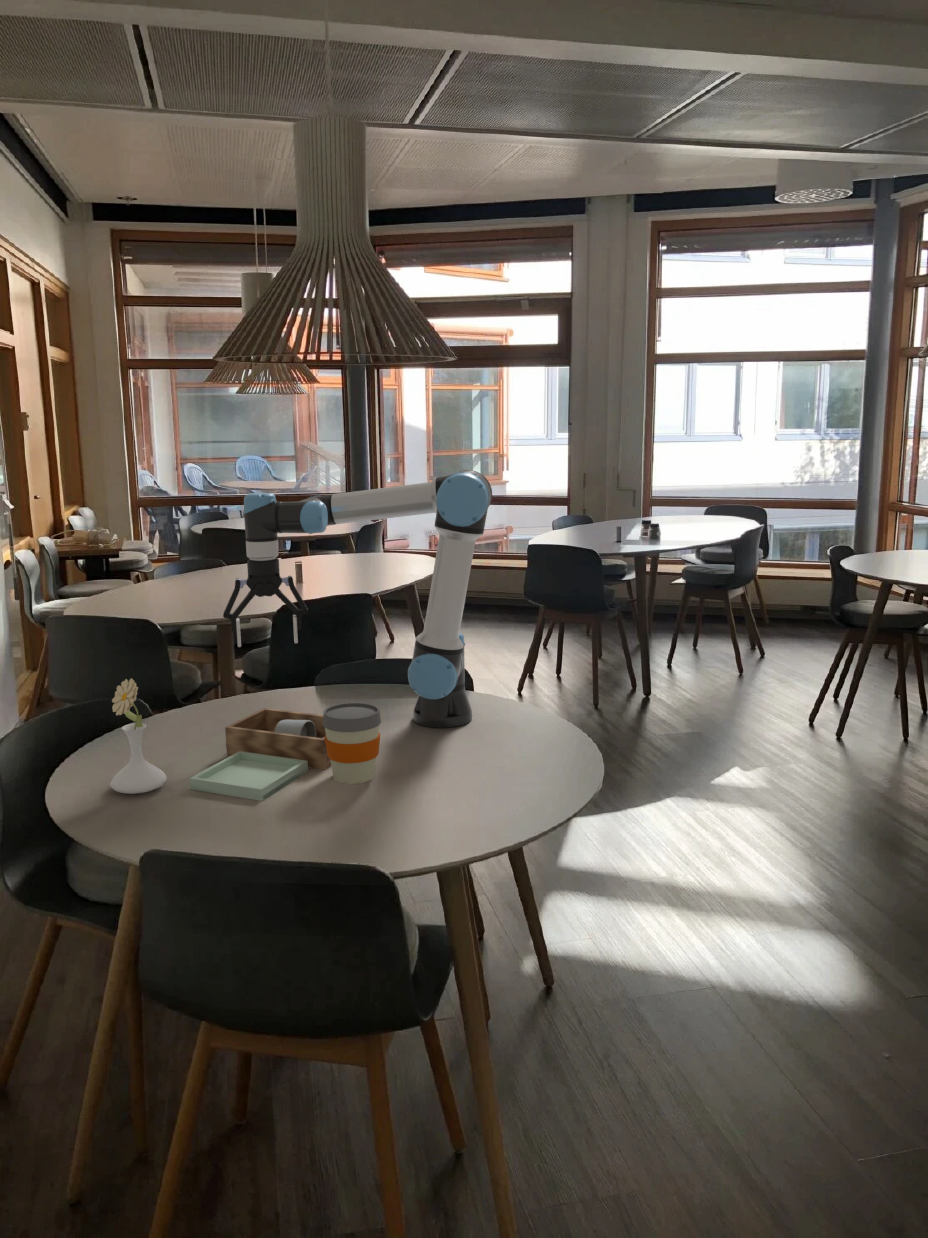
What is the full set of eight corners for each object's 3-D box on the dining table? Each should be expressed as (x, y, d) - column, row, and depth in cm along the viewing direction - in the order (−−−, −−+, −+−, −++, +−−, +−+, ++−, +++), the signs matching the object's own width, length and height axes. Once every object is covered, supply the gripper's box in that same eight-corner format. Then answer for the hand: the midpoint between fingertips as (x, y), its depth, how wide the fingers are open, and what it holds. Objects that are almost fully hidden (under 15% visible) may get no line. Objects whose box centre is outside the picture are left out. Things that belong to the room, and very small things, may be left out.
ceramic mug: (288, 743, 236) (286, 713, 234) (317, 747, 233) (316, 716, 231) (263, 758, 226) (261, 727, 225) (294, 762, 223) (292, 730, 222)
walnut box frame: (358, 747, 232) (357, 719, 231) (324, 770, 218) (323, 740, 216) (265, 735, 242) (264, 708, 241) (227, 756, 228) (225, 727, 226)
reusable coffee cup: (358, 762, 223) (356, 698, 220) (394, 776, 214) (392, 710, 211) (313, 776, 214) (310, 711, 211) (349, 791, 205) (346, 723, 202)
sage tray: (308, 771, 217) (307, 760, 217) (262, 801, 201) (261, 789, 200) (240, 761, 224) (239, 751, 223) (190, 789, 208) (189, 778, 207)
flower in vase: (109, 783, 212) (98, 671, 206) (163, 775, 216) (155, 665, 211) (113, 805, 200) (102, 687, 195) (171, 796, 204) (162, 680, 199)
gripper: (314, 553, 241) (318, 637, 246) (209, 558, 236) (215, 643, 241) (316, 557, 234) (320, 644, 239) (208, 562, 229) (215, 650, 233)
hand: (267, 644), depth 240 cm, fingers open, 13 cm apart
